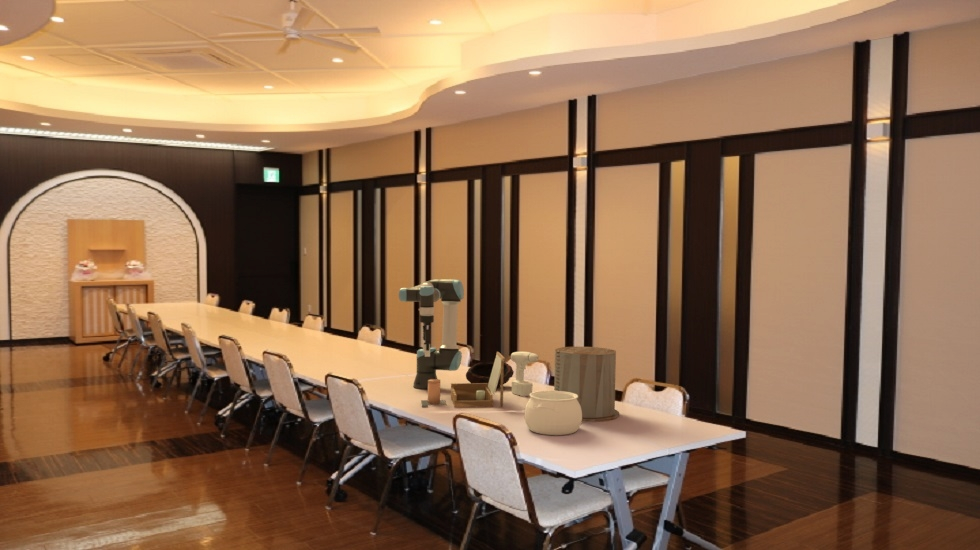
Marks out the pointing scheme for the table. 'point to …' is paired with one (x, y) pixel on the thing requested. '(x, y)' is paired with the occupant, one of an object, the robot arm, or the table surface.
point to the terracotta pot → (433, 391)
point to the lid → (495, 373)
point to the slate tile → (425, 404)
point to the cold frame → (474, 393)
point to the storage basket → (588, 380)
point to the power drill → (522, 372)
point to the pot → (553, 412)
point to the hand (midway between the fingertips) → (426, 354)
